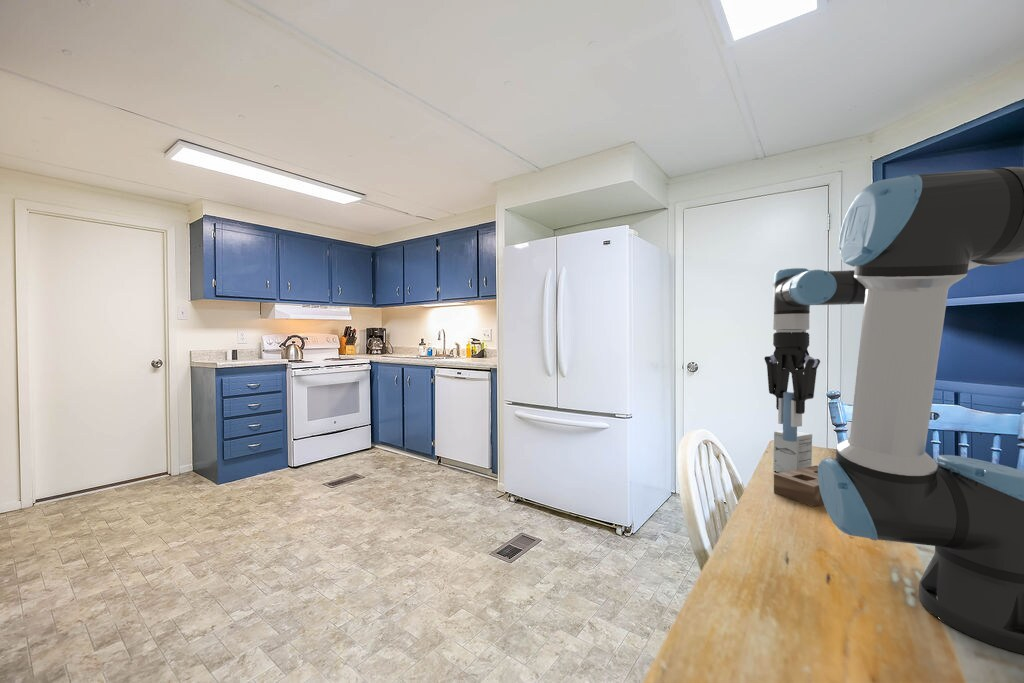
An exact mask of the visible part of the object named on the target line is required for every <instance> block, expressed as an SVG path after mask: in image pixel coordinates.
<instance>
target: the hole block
mask: <svg viewBox="0 0 1024 683" xmlns="http://www.w3.org/2000/svg"><path fill="white" fill-rule="evenodd" d="M818 466H819V465H811V467H806V468H801V469H796V470H791V471H786V472H781V473H779V472H775V473H773V493H774V492H775V493H774V494H777V495H779V496H783V497H785V498H788V499H791V500H794V501H796V502H800V503H802V504H805V505H808V506H811V507H813V508H814V507H817V506H821V505H824V503H823V500H822V496H821V493H820V488H819V483H818Z"/></svg>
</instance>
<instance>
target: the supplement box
mask: <svg viewBox="0 0 1024 683" xmlns="http://www.w3.org/2000/svg"><path fill="white" fill-rule="evenodd" d="M812 452H813V434H812V433H807V432H803V431H799V430H797V441H796V442H790V441H785V440H783V429H780V430H774V433H773V469H772V470H773V472H774V471H776V472H775V473H781V472H786V471H791V470H796V469H801V468H806V467H811V466H813V465H812V464H813V463H812V461H813V460H812V458H813V457H812V455H813V453H812Z"/></svg>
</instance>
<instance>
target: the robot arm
mask: <svg viewBox="0 0 1024 683" xmlns="http://www.w3.org/2000/svg"><path fill="white" fill-rule="evenodd" d="M838 239H839V240H838V249H839V250H840V252H839V256H840V259H841V260H842V262H843V263H844V264H846V265H848V266H850V267H853V268H854V270H829V271H827V270H824V269H810V270H809V269H807V268H805V267H804V268H803V267H793V268H785V269H779V270H777V271H776V272H775V273H774V277H773V284H772V286H773V322H772V323H773V325H772V326H773V327H772V328H773V330H774V331H776V332H774V333H773V335H772V336H773V337H772V338H773V339H772V342H773V344H772V345H773V347H774V352H773V354H771V355H770V356H764V358H763V360H764V363H765V364H766V371H767V383H768V393H769V394H770V395H773V396H775V397H776V398H775V399H776V405H775V407H776V410H778V414H777V415H778V416H777V417H778V419H777V420H778V421H777V423H778V424H780V425H783V392H788V388H789V387H788V386H789V382H790V381H789V380H790V374H791V380H792V389H793V390H792V392H794V398H792V400H791V426H792V427H797V428H798V427H803V415H804V414H805V412H806V410H805V408H806V406H805V405H806V404H805V403H806V400H812V399H814V398H815V387H816V380H817V379H816V378H817V372H818V371H817V370H818V368H819V365H820V364H821V360H820V358H813V357H812V356H810V352H809V351H808V347H809V346H810V333H809V332H807V331H809V330H810V309H811V308H810V307H811V306H834V305H835V306H836V305H838V306H839V305H842V306H843V305H844V306H845V305H863V311H862V312H863V313H862V321H861V333H860V339H859V349H858V359H857V360H858V361H857V368H856V378H855V386H854V395H853V403H852V404H853V407H852V414H851V421H850V423H851V424H850V434H849V437H847V438H845V439H842V441H839V442H838V443H837V445H836V451H835V457H834V458H833V457H827V458H825V457H824V458H823V459H821V460H820V462H819V463H818V465H817V466H818V483H819V488H820V493H821V496H822V500H823V503H824V504H823V505H824V508H825V510H826V512H827V514H828V516H829V518H830V520H831V521H832V523H833V524H834V526H835V527H837V529H838V530H839V531H841V532H842V533H844V534H846V535H848V536H852V537H859V538H865V539H870V540H872V541H874V542H875V541H877V540H878V541H879V540H880V541H888V542H895V543H896V542H897V543H904V544H915V545H921V546H923V545H924V546H931V547H934V554H933V556H932V558H931V560H930V561H929V563H928V565H927V567H926V569H925V571H924V572H923V574H922V576H921V578H920V580H919V583H918V600H919V602H920V605H922V606H923V607H924V608H925V609H926V611H928V612H929V611H930V612H931V613H932V614H931V613H930V612H929V613H930V614H931V615H933V614H934V615H935V616H937V617H939V618H940V619H941V620H942V622H943V621H944V622H945V623H944V622H943V623H944V624H946V625H947V626H949V627H951V628H953V629H954V630H957V631H959V632H961V633H963V634H965V635H967V636H969V637H972V638H974V639H976V640H978V641H982V642H984V643H986V644H989V645H992V646H995V647H998V648H1000V649H1004V650H1007V651H1010V652H1015V653H1018V654H1022V655H1024V470H1021V469H1018V468H1014V467H1010V466H1008V465H1003V464H999V463H995V462H990V461H985V460H981V459H976V458H971V457H966V456H961V455H960V456H959V455H953V454H939V455H937V456H936V459H935V460H934V459H933V458H932V457H931V455H929V454H928V453H927V452H926V446H927V440H928V432H929V426H930V419H931V412H932V407H933V406H932V405H933V404H932V403H933V398H934V391H935V384H936V378H937V371H938V363H939V358H940V350H941V343H942V337H943V329H944V324H945V318H946V317H945V314H946V308H947V302H948V294H949V289H950V288H951V287H952V286H953V285H954V284H956V283H958V282H959V281H961V280H962V279H964V278H966V277H967V276H968V271H970V270H972V269H976V268H978V267H981V266H985V267H987V266H989V267H993V266H1002V265H1006V264H1009V263H1012V262H1015V261H1019V260H1021V259H1024V167H1023V166H1006V167H1004V166H1003V167H996V168H995V167H994V168H991V169H990V168H988V169H976V170H975V169H973V170H962V171H948V172H947V171H946V172H934V173H933V172H932V173H921V174H911V175H909V174H908V175H904V176H899V177H892V178H886V179H885V178H884V179H881V180H877V181H875V182H871V183H870V184H869V185H868V186H867V185H866V186H865V187H864V188H863V189H862V190H861V191H860V192H859V193H858V194H857V195H856V197H855V198H854V200H853V201H852V203H851V204H850V206H849V208H848V210H847V212H846V213H845V216H844V219H843V221H842V225H841V229H840V233H839V238H838ZM934 615H933V616H934ZM935 616H934V617H935ZM937 617H936V618H937ZM940 619H939V620H940ZM941 620H940V621H941Z"/></svg>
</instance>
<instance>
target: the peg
mask: <svg viewBox="0 0 1024 683" xmlns="http://www.w3.org/2000/svg"><path fill="white" fill-rule="evenodd" d="M792 398H794V391H787V392H783V424H782V430H783V440H785V441H790V442H796V441H797V431H798V427H792V426H791V400H792Z"/></svg>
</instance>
